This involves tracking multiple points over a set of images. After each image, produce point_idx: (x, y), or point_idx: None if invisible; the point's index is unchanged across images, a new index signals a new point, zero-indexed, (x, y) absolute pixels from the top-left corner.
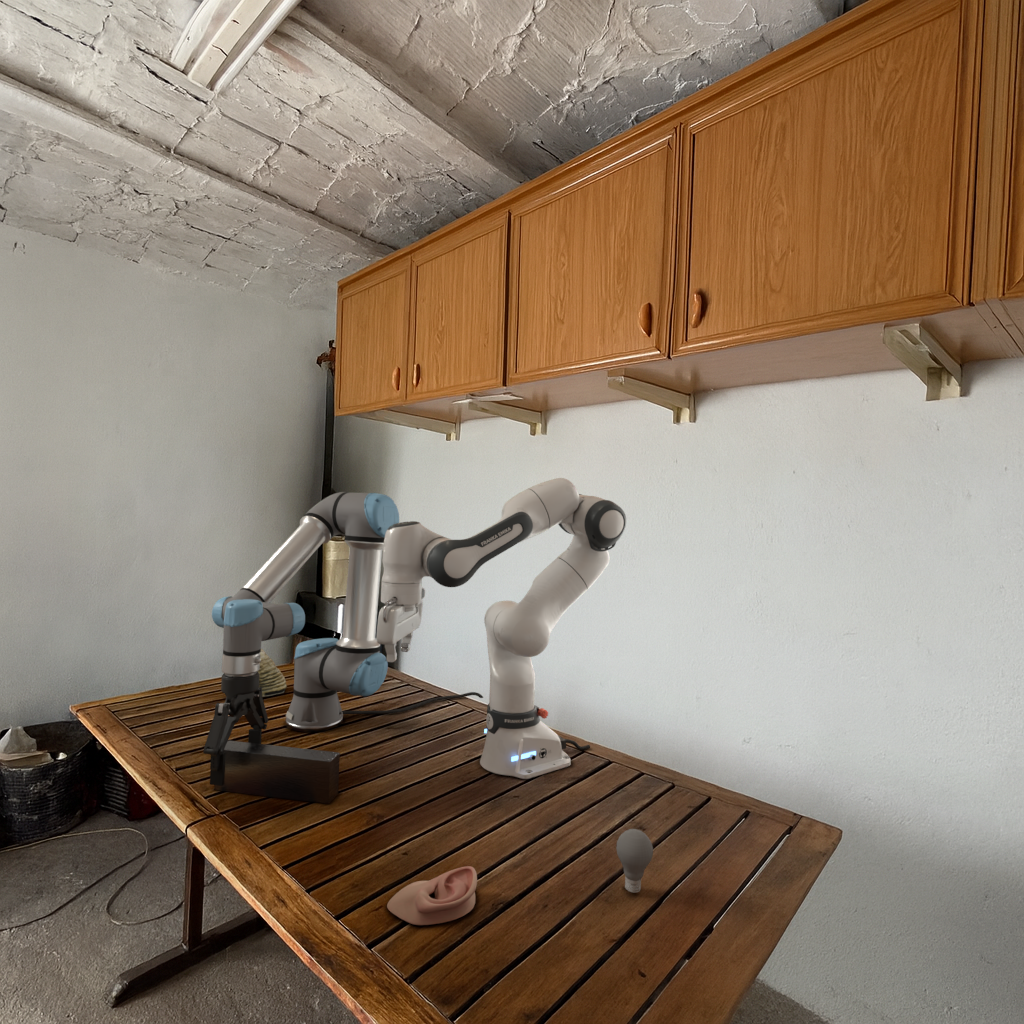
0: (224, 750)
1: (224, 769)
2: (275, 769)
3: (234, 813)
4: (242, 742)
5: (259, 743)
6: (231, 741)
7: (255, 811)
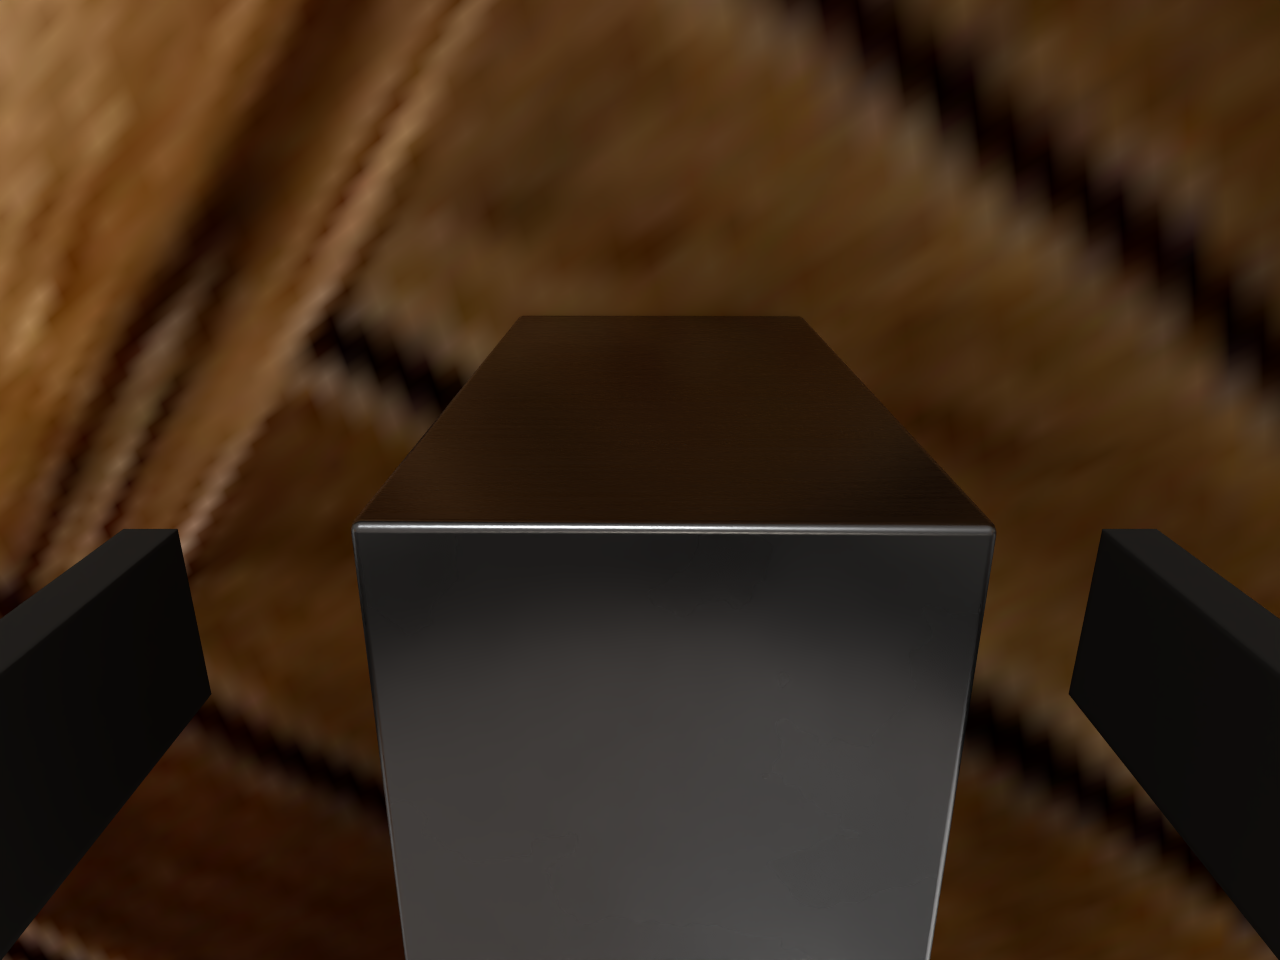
0: (378, 745)
1: (72, 851)
2: None
3: (166, 779)
4: (901, 893)
5: (1233, 887)
6: (925, 634)
7: (270, 907)
